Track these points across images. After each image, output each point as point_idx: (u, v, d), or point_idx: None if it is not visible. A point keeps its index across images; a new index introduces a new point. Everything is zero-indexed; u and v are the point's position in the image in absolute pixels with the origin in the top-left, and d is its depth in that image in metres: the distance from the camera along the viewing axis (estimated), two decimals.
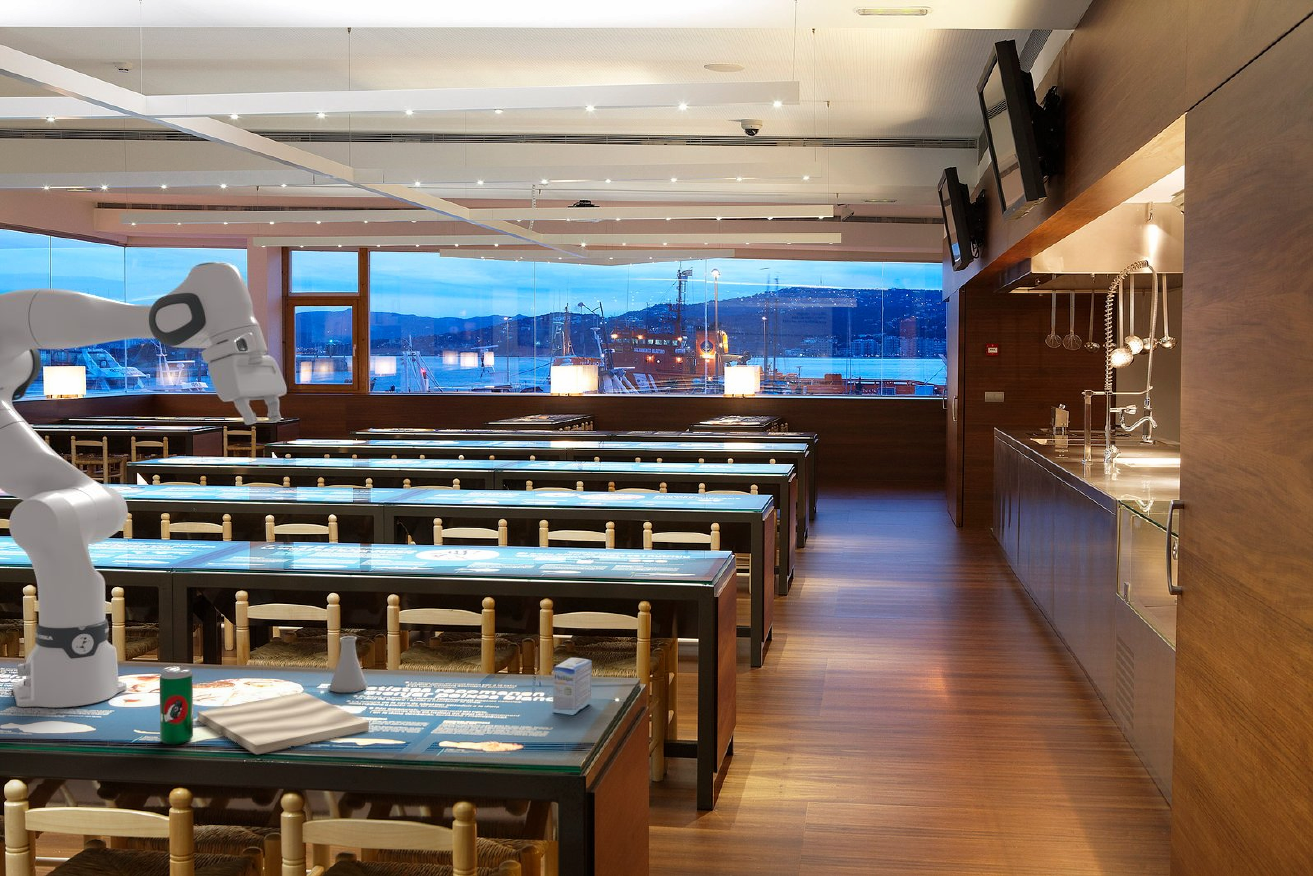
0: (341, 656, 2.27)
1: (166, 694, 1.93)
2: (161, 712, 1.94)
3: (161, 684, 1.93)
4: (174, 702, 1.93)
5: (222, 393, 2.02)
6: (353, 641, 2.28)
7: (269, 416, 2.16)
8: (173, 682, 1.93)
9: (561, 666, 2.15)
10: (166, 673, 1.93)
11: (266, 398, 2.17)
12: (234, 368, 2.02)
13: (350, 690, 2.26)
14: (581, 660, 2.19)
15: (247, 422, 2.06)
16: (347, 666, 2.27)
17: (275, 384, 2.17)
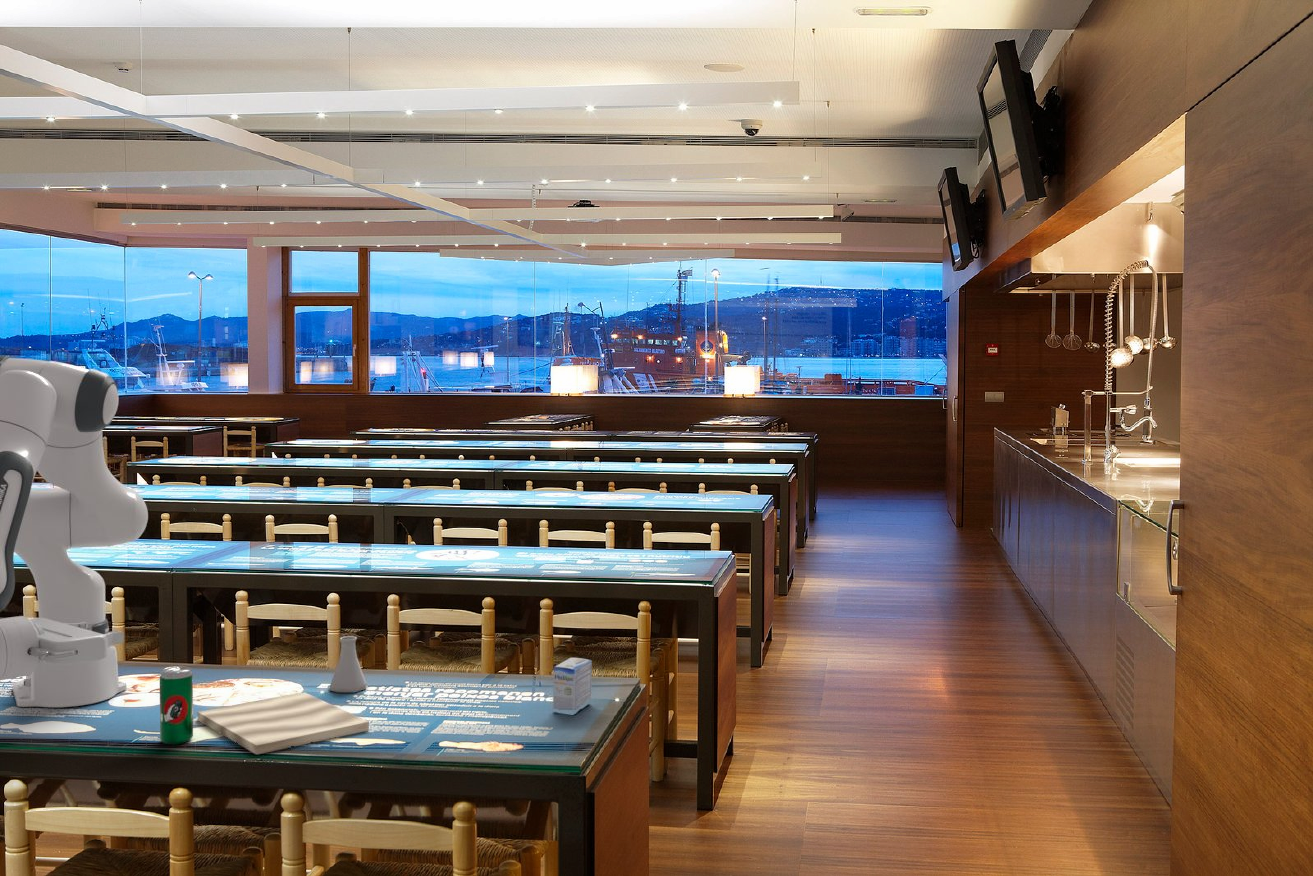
0: (341, 656, 2.27)
1: (166, 694, 1.93)
2: (161, 712, 1.94)
3: (161, 684, 1.93)
4: (174, 702, 1.93)
5: None
6: (353, 641, 2.28)
7: None
8: (173, 682, 1.93)
9: (561, 666, 2.15)
10: (166, 673, 1.93)
11: None
12: None
13: (350, 690, 2.26)
14: (581, 660, 2.19)
15: None
16: (347, 666, 2.27)
17: None
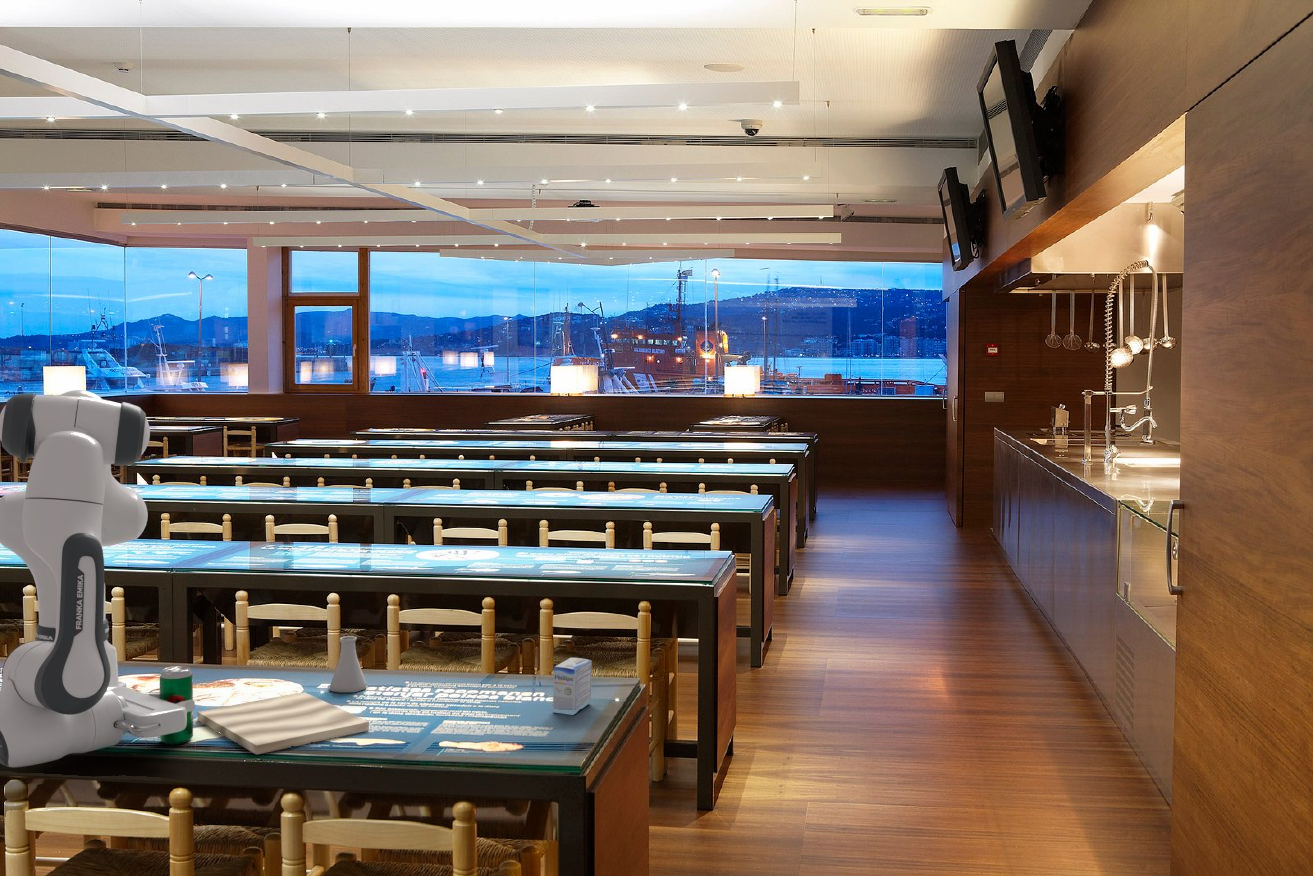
0: (341, 656, 2.27)
1: (166, 694, 1.93)
2: None
3: (161, 684, 1.93)
4: (174, 702, 1.93)
5: None
6: (353, 641, 2.28)
7: None
8: (173, 682, 1.93)
9: (561, 666, 2.15)
10: (166, 673, 1.93)
11: None
12: None
13: (350, 690, 2.26)
14: (581, 660, 2.19)
15: None
16: (347, 666, 2.27)
17: None
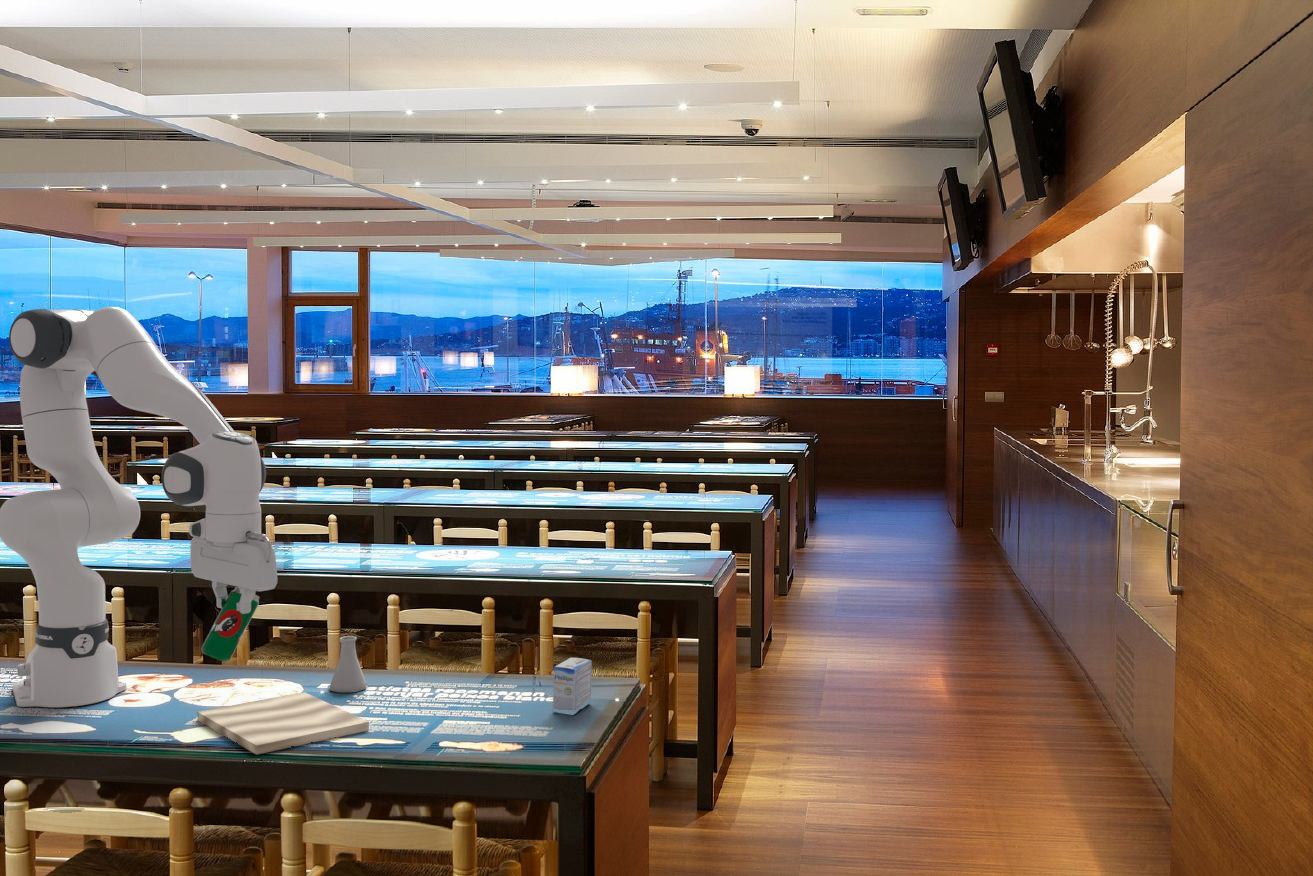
0: (341, 656, 2.27)
1: (229, 606, 1.99)
2: (215, 622, 1.99)
3: (229, 597, 2.00)
4: (231, 615, 1.98)
5: None
6: (353, 641, 2.28)
7: None
8: (240, 597, 1.99)
9: (561, 666, 2.15)
10: (238, 588, 2.00)
11: None
12: (190, 550, 2.03)
13: (350, 690, 2.26)
14: (581, 660, 2.19)
15: None
16: (347, 666, 2.27)
17: (242, 577, 1.95)
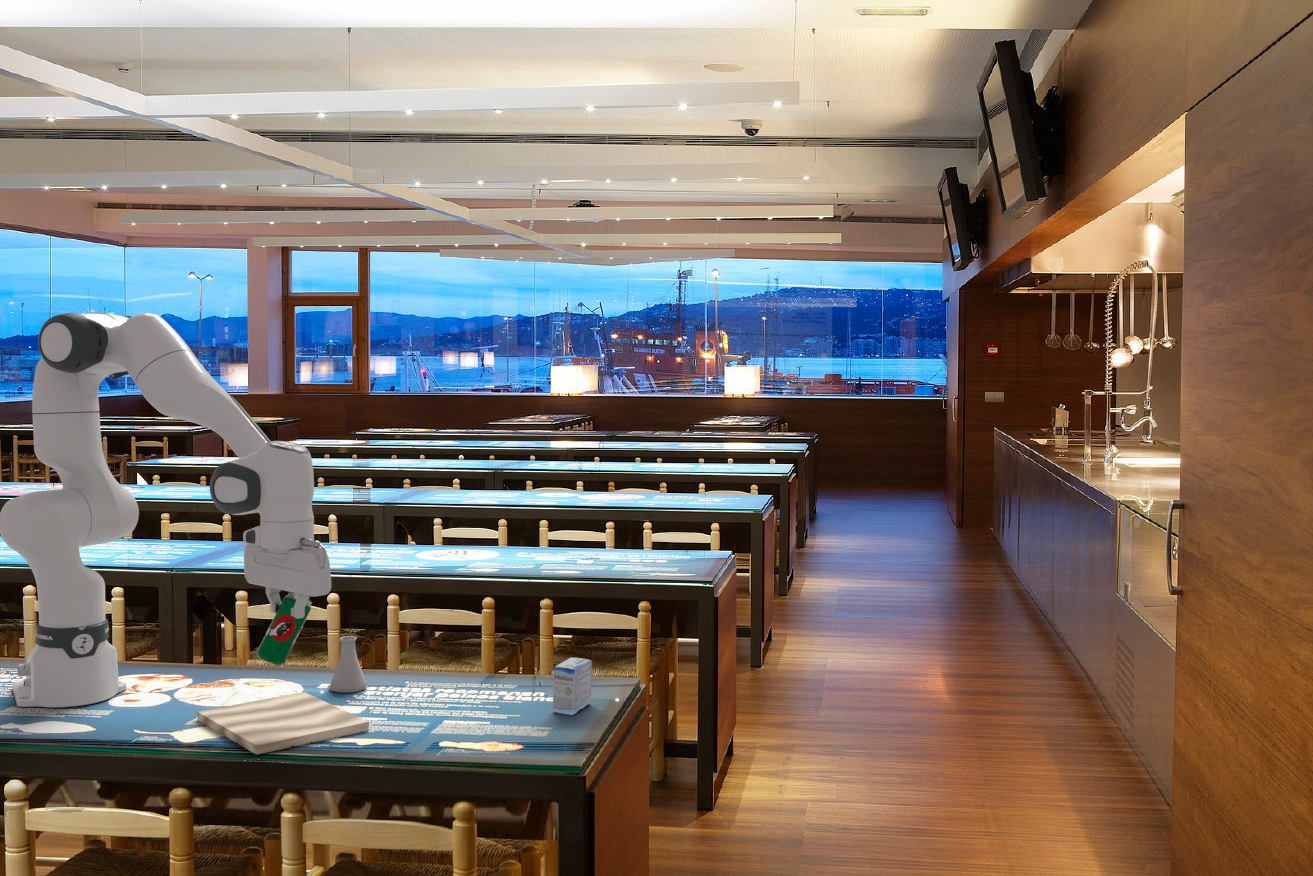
0: (341, 656, 2.27)
1: (283, 611, 2.04)
2: (270, 627, 2.04)
3: (282, 602, 2.05)
4: (285, 620, 2.03)
5: None
6: (353, 641, 2.28)
7: None
8: (294, 603, 2.04)
9: (561, 666, 2.15)
10: (291, 594, 2.05)
11: None
12: (244, 556, 2.08)
13: (350, 690, 2.26)
14: (581, 660, 2.19)
15: None
16: (347, 666, 2.27)
17: (297, 583, 2.00)
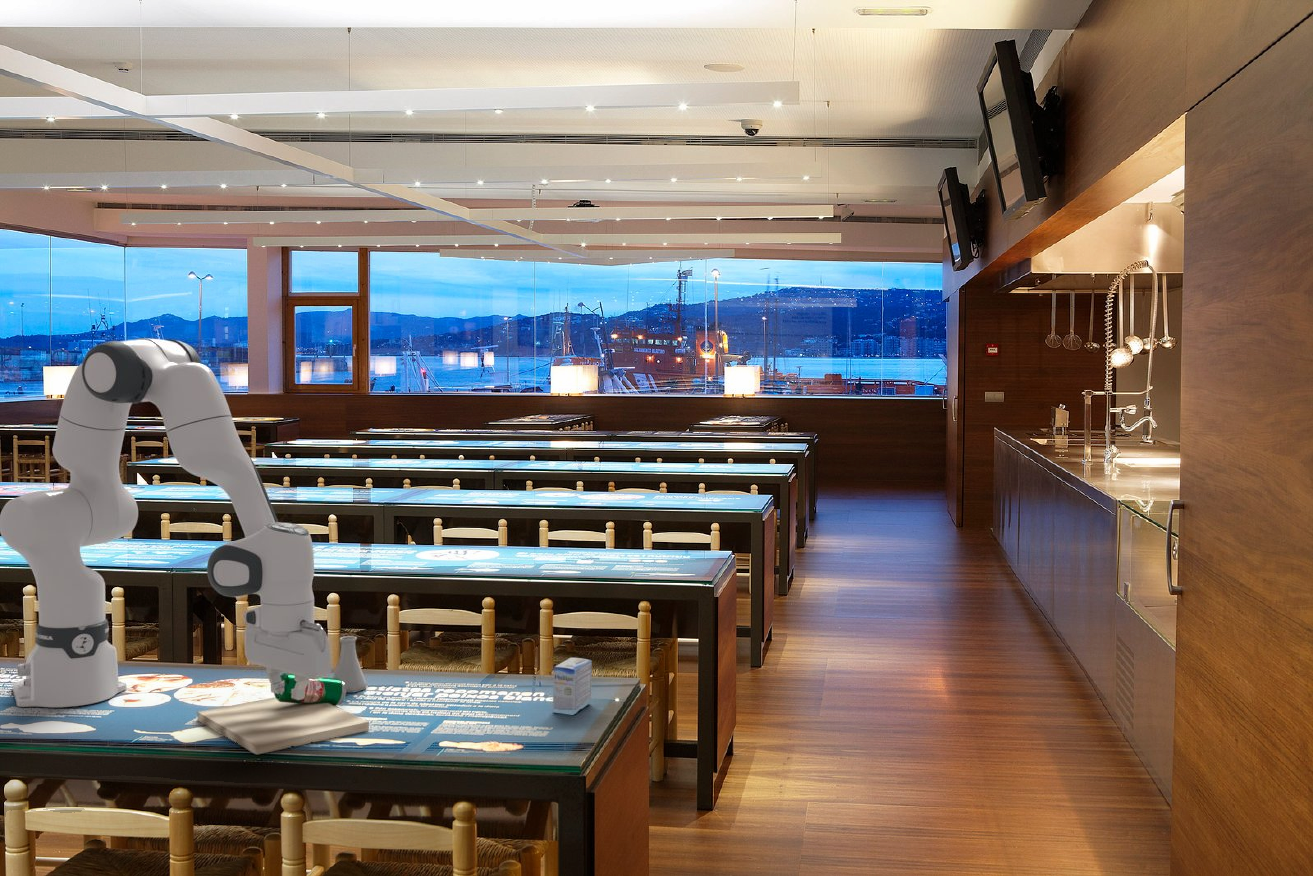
0: (341, 656, 2.27)
1: None
2: None
3: None
4: None
5: None
6: (353, 641, 2.28)
7: None
8: None
9: (561, 666, 2.15)
10: None
11: None
12: None
13: (350, 690, 2.26)
14: (581, 660, 2.19)
15: None
16: (347, 666, 2.27)
17: (298, 666, 2.00)
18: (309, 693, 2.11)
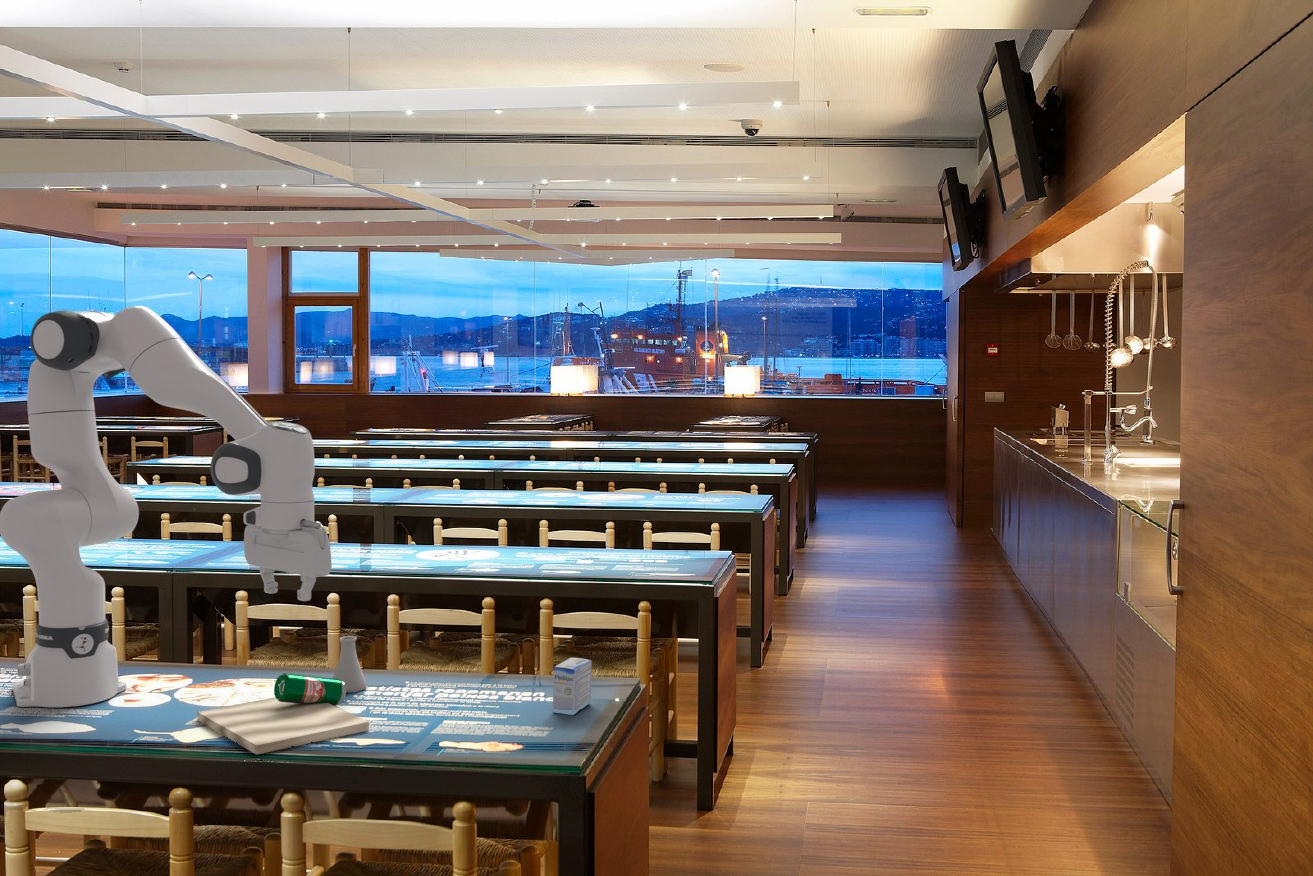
0: (341, 656, 2.27)
1: None
2: None
3: None
4: None
5: None
6: (353, 641, 2.28)
7: None
8: None
9: (561, 666, 2.15)
10: None
11: None
12: (244, 538, 2.08)
13: (350, 690, 2.26)
14: (581, 660, 2.19)
15: None
16: (347, 666, 2.27)
17: (297, 564, 1.99)
18: (309, 693, 2.11)
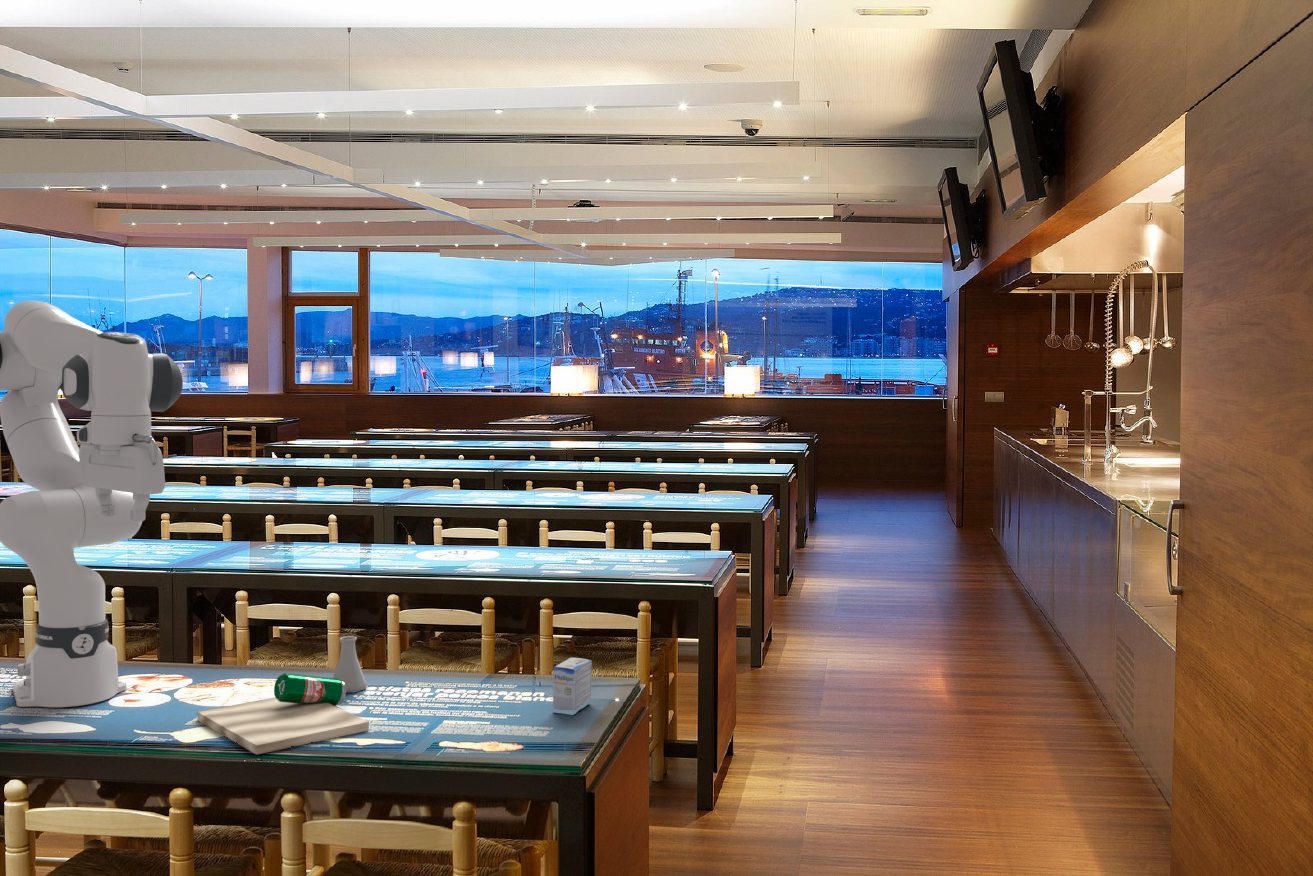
0: (341, 656, 2.27)
1: None
2: None
3: None
4: None
5: None
6: (353, 641, 2.28)
7: None
8: None
9: (561, 666, 2.15)
10: None
11: None
12: (79, 457, 1.95)
13: (350, 690, 2.26)
14: (581, 660, 2.19)
15: None
16: (347, 666, 2.27)
17: (128, 481, 1.87)
18: (309, 693, 2.11)
